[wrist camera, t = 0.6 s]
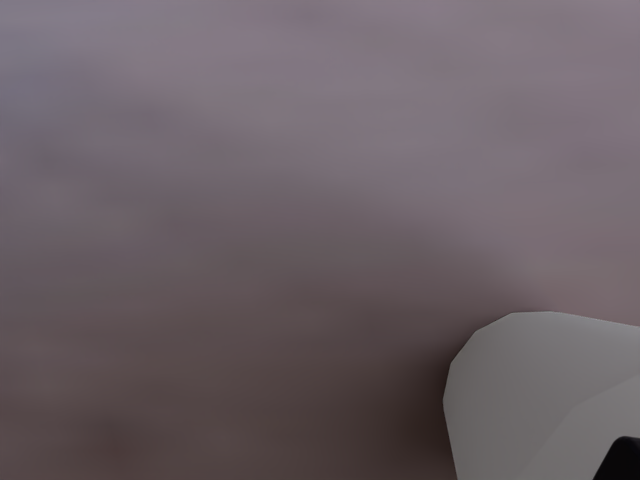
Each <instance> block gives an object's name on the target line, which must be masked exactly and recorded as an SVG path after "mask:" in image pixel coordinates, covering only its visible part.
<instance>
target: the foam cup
mask: <svg viewBox="0 0 640 480" xmlns="http://www.w3.org/2000/svg"><path fill="white" fill-rule="evenodd" d="M442 402H443V406H444V407H443V409H444V414H445V419H446V424H447V429H448V434H449V439H450V444H451V449H452V454H453V459H454V464H455V469H456V474H457V479H458V480H593V477H594V476H595V474H596V472H597V470H598V468H599V467H600V465H601V463H602V461H603V459H604V458H605V456H606V454H607V452H608V450H609V449H610V447H611V445H612V443H613V442H614V441H615V440H616V439H617V438H619V437H621V436H630V437H637V438H640V327H637V326H631V325H626V324H621V323H615V322H610V321H604V320H599V319H593V318H588V317H582V316H577V315H572V314H566V313H561V312H557V313H555V312H552V311H549V312H519V313H510V314H508V315H506V316H504V317H502V318H500V319H498V320H496V321H494V322H493V323H491V324H489V325H487V326H485V327H483V328H481V329H479V330H477V331H475V332H474V334H473V335H472V336H471V338H470V339H469V340H468V341H467V343H466V344H465V345H464V347H463V348H462V349H461V350H460V352H459V353H458V354H457V356H456V357H455V358H454V359H453V361H452V362H451V364H450V369H449V373H448V378H447V383H446V387H445V392H444V397H443V401H442Z"/></svg>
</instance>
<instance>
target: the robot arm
mask: <svg viewBox="0 0 640 480" xmlns="http://www.w3.org/2000/svg"><path fill="white" fill-rule="evenodd" d="M593 480H640V438H637V437H630V436H621V437H619V438H617V439H616V440H615V441H614V442H613V443H612V445H611V447H610V449H609V450H608V452H607V454H606V456H605V458H604V459H603V461H602V463H601V465H600V467H599V468H598V470H597V472H596V474H595V476H594V477H593Z"/></svg>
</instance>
